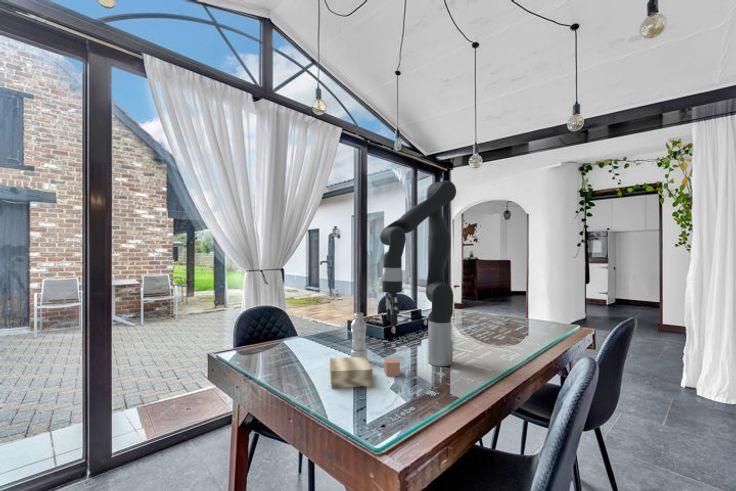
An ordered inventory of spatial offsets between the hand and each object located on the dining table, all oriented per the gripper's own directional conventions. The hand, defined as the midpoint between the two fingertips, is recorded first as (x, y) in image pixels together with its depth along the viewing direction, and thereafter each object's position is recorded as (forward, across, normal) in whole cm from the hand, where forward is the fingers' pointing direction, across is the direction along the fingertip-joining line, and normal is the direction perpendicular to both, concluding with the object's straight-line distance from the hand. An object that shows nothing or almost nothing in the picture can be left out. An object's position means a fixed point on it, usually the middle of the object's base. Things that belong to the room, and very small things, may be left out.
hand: (391, 322), depth 129 cm
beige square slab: (+20, -4, +16) cm, 26 cm away
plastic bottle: (+19, +16, +11) cm, 27 cm away
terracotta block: (+19, 0, 0) cm, 19 cm away
